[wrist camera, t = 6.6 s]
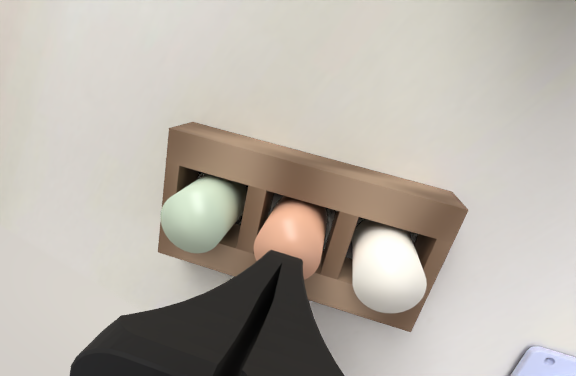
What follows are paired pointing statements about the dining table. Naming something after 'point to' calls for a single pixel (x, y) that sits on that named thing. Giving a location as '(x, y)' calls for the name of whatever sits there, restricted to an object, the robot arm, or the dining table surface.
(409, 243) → the white rounded cylinder
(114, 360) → the robot arm
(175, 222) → the button sage
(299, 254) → the salmon pink cylinder
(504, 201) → the dining table surface
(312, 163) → the wooden three-slot tray
